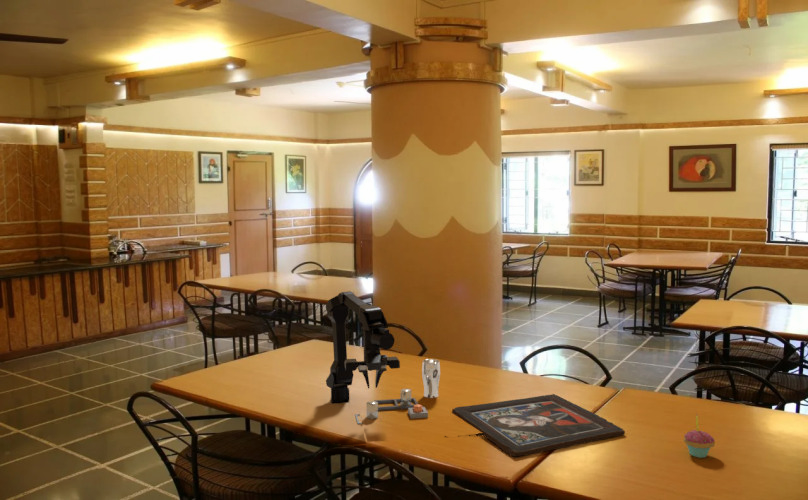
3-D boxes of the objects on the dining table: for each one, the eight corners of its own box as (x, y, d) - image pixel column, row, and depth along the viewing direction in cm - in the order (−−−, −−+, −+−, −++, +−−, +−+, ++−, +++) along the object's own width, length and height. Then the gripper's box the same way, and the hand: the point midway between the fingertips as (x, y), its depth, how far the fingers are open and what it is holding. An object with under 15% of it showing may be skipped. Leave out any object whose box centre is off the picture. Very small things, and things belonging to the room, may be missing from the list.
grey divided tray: (376, 414, 228) (376, 407, 228) (374, 407, 236) (374, 400, 236) (418, 411, 231) (418, 405, 230) (414, 404, 238) (414, 397, 238)
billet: (367, 422, 219) (367, 405, 219) (366, 418, 223) (365, 401, 223) (378, 421, 220) (378, 404, 220) (377, 417, 224) (377, 400, 223)
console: (411, 422, 220) (411, 413, 220) (408, 416, 226) (408, 407, 226) (428, 421, 221) (427, 412, 221) (424, 415, 227) (424, 406, 227)
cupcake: (677, 449, 196) (679, 411, 195) (704, 448, 197) (705, 410, 196) (692, 461, 187) (694, 421, 186) (720, 459, 188) (721, 420, 187)
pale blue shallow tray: (357, 427, 216) (357, 423, 216) (355, 417, 225) (355, 414, 225) (390, 424, 218) (390, 421, 218) (386, 415, 227) (386, 412, 227)
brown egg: (414, 418, 222) (414, 407, 221) (412, 415, 225) (412, 404, 224) (422, 418, 222) (422, 407, 222) (421, 415, 225) (421, 404, 225)
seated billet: (401, 408, 231) (401, 392, 231) (399, 404, 235) (399, 389, 235) (412, 407, 232) (412, 391, 232) (410, 404, 236) (410, 388, 235)
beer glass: (438, 402, 240) (438, 363, 239) (420, 401, 242) (420, 363, 240) (441, 396, 247) (441, 359, 246) (423, 395, 249) (423, 358, 247)
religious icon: (448, 416, 226) (448, 407, 226) (552, 400, 244) (552, 392, 244) (510, 460, 190) (510, 451, 189) (627, 438, 207) (627, 429, 207)
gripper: (346, 351, 210) (347, 396, 211) (402, 348, 213) (402, 393, 214) (344, 343, 221) (344, 386, 222) (397, 340, 224) (397, 383, 225)
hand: (372, 387), depth 221 cm, fingers closed
